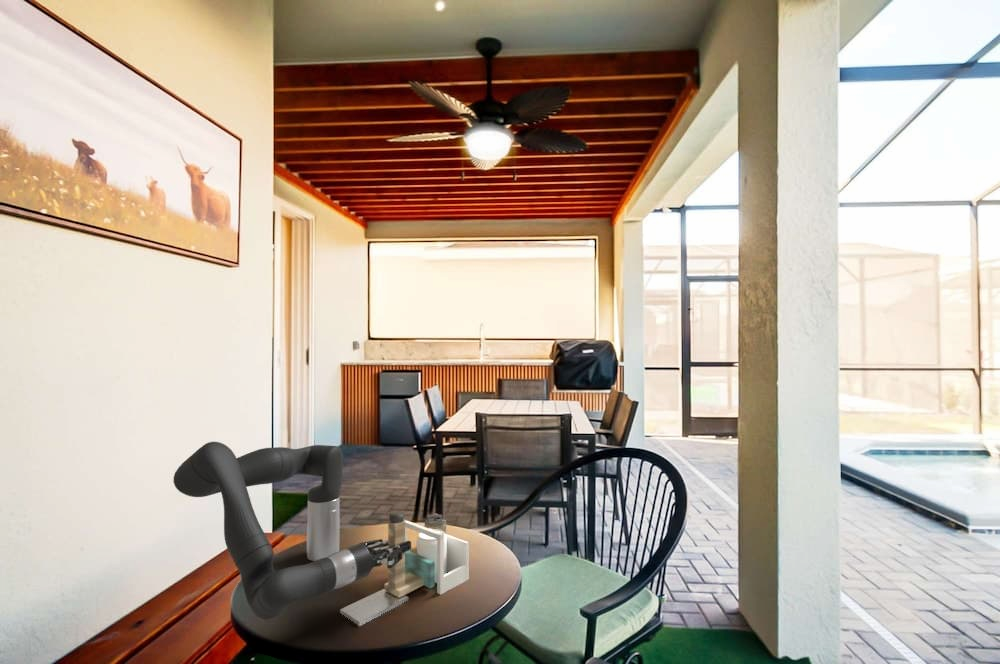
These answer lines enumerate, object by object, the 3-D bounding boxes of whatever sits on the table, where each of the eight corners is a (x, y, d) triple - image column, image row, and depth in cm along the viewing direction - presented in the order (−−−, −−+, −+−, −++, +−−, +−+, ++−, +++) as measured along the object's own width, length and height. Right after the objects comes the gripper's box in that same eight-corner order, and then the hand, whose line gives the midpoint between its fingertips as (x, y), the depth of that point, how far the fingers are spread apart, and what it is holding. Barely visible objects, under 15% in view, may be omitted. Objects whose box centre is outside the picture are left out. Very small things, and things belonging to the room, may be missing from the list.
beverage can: (422, 588, 122) (423, 542, 123) (412, 576, 129) (412, 532, 130) (451, 581, 126) (451, 536, 126) (439, 569, 133) (439, 526, 134)
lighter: (447, 544, 150) (447, 512, 151) (446, 549, 146) (445, 517, 147) (425, 544, 150) (425, 513, 151) (423, 549, 146) (423, 517, 147)
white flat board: (340, 613, 111) (340, 609, 111) (388, 590, 121) (388, 586, 121) (359, 626, 106) (359, 621, 106) (408, 600, 116) (408, 596, 116)
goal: (400, 575, 129) (400, 520, 130) (429, 562, 137) (429, 510, 138) (440, 595, 119) (440, 535, 120) (468, 579, 127) (468, 523, 128)
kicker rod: (377, 587, 121) (378, 511, 121) (407, 573, 128) (408, 502, 129) (404, 601, 113) (404, 521, 114) (434, 586, 121) (434, 510, 122)
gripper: (363, 558, 104) (423, 534, 117) (330, 542, 113) (389, 521, 126) (363, 592, 103) (423, 565, 116) (330, 573, 112) (389, 550, 125)
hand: (405, 542), depth 121 cm, fingers closed on kicker rod, 3 cm apart
